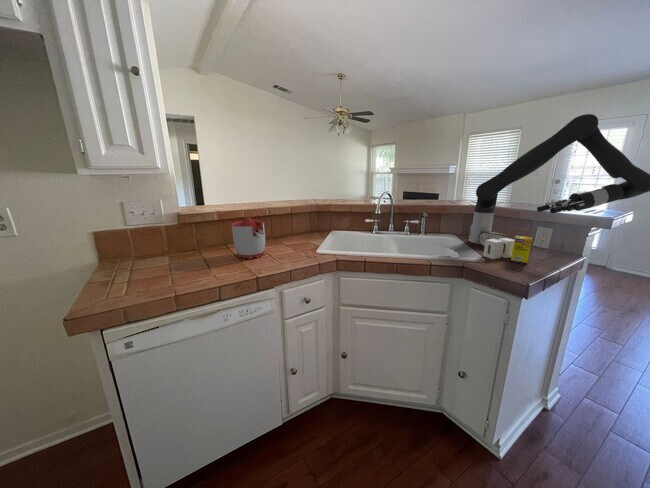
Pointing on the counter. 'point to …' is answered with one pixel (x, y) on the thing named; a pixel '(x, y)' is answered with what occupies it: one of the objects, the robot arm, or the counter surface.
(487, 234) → the tin
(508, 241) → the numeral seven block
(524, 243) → the supplement box
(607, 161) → the robot arm
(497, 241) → the numeral one block
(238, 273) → the counter surface
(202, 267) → the counter surface
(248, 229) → the citrus juicer
